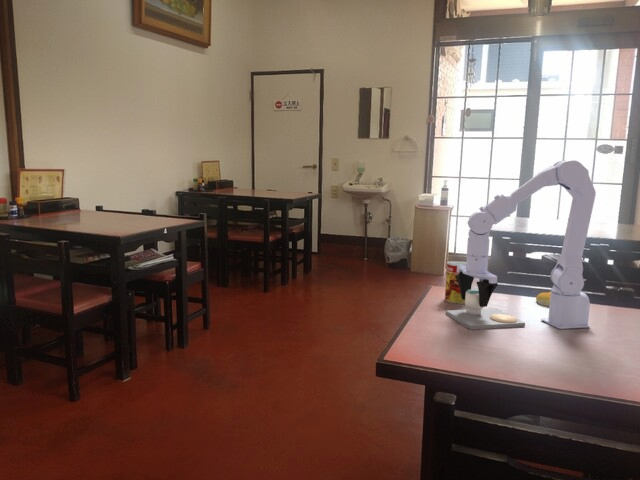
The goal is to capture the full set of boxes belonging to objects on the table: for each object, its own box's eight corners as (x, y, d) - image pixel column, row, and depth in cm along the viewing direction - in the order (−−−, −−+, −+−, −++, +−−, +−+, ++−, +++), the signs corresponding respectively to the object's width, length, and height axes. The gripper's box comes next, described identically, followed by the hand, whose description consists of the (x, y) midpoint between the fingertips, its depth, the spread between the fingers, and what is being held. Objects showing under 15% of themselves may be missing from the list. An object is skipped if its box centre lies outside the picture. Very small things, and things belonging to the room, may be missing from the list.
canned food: (446, 296, 162) (448, 260, 160) (471, 298, 159) (473, 262, 158) (443, 302, 155) (445, 264, 153) (469, 304, 152) (472, 266, 150)
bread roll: (530, 302, 157) (531, 289, 157) (553, 300, 160) (554, 288, 160) (549, 309, 150) (550, 296, 149) (573, 307, 152) (574, 294, 152)
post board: (495, 311, 146) (496, 301, 145) (524, 326, 132) (525, 315, 132) (445, 313, 142) (446, 303, 142) (470, 329, 129) (471, 318, 128)
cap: (477, 303, 142) (478, 287, 141) (486, 308, 137) (488, 292, 137) (461, 304, 141) (462, 288, 140) (470, 309, 136) (471, 292, 136)
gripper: (449, 251, 142) (446, 297, 144) (483, 260, 129) (480, 311, 131) (469, 250, 145) (466, 295, 147) (504, 259, 132) (501, 308, 134)
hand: (474, 302), depth 139 cm, fingers open, 7 cm apart
